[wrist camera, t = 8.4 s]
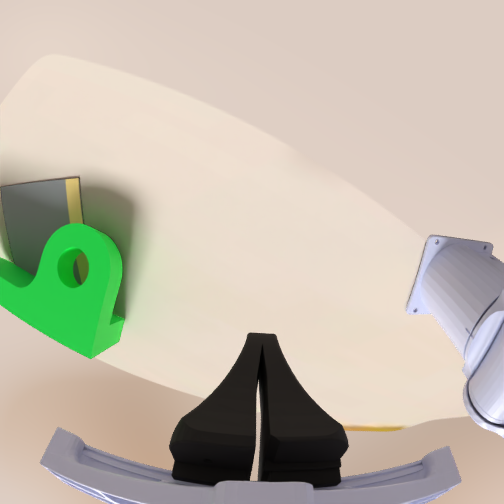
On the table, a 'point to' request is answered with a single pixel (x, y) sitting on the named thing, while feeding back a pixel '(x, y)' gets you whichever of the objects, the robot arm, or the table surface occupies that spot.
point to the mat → (41, 220)
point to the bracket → (69, 291)
